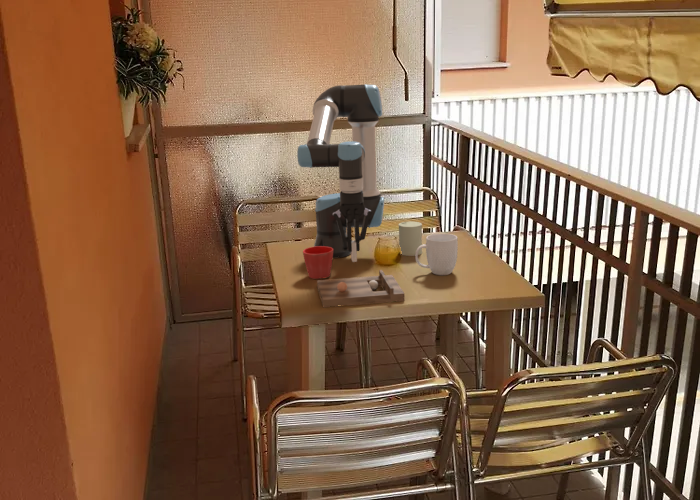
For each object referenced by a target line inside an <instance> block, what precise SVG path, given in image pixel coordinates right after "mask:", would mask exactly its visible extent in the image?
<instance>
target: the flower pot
mask: <svg viewBox="0 0 700 500" xmlns="http://www.w3.org/2000/svg"><path fill="white" fill-rule="evenodd" d="M302 254H303V259H304V263H305V268H306V270H307V274H308V277H309V279H313V280H315V279H316V280H322V279H323V280H324V279H327V278H329V277H331V272H332V266H333V259H334V258H333V248H331V247H326V246H316V247H314V246H311V247H307V248H304V249H303V251H302Z"/></svg>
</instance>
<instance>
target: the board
mask: <svg viewBox="0 0 700 500" xmlns="http://www.w3.org/2000/svg"><path fill="white" fill-rule="evenodd" d="M378 272H379V273H378V275H372V276H359V277H347V278H335V279H334V278H333V279H323V280H322V279H317V280H316V289H317V291H318V294H319V298H320V301H321V304H322V308H331V307H330V306H335V307H339V306H338V305H341V306H340V307H343V306H342V305H347V306H357V305H369V304H370V305H371V303H372V304H380V303H381V304H383V303H393V302H392V301H396V302H405V301H406V300H405V292H404V291H403V289H402V288H401V286H400V284H399V283H398V281H397V280H396V278H395V277H394V276H393V274H387V275H386V274H385V272H384V271H383V269H380V270H378ZM372 280H375V281H377V283H378V287H381V288H382V290H379V291H374V290H372V289H371V287H370V285H369V282H370V281H372ZM340 282H345V283H346V284H347V289H346V291H344V292H340V291H339V290H338V288H337V286H338V284H339V283H340ZM378 287H377V288H378Z"/></svg>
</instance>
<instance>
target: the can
mask: <svg viewBox="0 0 700 500" xmlns="http://www.w3.org/2000/svg"><path fill="white" fill-rule="evenodd" d="M422 229H423V224H422V222H419V221H413V220H410V221H403V222H400V223H398V246H399V245H400V247H401V251H402V255H401V256H406V257H415V254H416V250H417V248H418V247H419V246H421V245H423V238H422V236H423V231H422ZM422 254H423V248H421V249H420V250H419V252H418V256H420V255H422Z"/></svg>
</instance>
